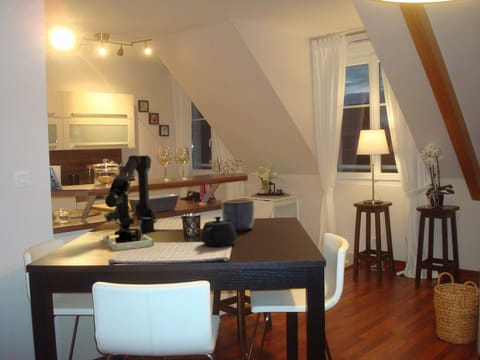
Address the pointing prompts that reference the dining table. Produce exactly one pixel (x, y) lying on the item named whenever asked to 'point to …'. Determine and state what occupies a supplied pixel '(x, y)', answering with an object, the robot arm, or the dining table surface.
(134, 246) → the tray
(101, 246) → the dining table surface
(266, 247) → the dining table surface
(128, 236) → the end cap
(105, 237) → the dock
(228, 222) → the teapot
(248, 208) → the planter
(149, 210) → the robot arm
